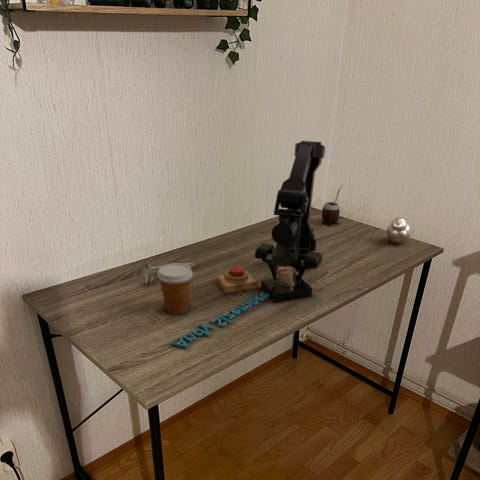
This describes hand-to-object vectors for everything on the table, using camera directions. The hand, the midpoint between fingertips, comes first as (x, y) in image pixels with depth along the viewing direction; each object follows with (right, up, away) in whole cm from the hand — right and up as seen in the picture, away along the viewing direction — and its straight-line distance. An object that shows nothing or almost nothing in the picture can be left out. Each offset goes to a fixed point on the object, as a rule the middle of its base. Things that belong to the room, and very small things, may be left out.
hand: (286, 282), depth 146 cm
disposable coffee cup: (-31, -8, -7) cm, 33 cm away
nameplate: (-18, -11, -12) cm, 24 cm away
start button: (-15, +3, +4) cm, 16 cm away
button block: (-15, 0, +6) cm, 16 cm away
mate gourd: (+23, +29, +56) cm, 67 cm away
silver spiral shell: (+45, +17, +38) cm, 61 cm away
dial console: (0, -3, +2) cm, 4 cm away
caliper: (-36, +3, +12) cm, 38 cm away
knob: (0, 0, 0) cm, 0 cm away
